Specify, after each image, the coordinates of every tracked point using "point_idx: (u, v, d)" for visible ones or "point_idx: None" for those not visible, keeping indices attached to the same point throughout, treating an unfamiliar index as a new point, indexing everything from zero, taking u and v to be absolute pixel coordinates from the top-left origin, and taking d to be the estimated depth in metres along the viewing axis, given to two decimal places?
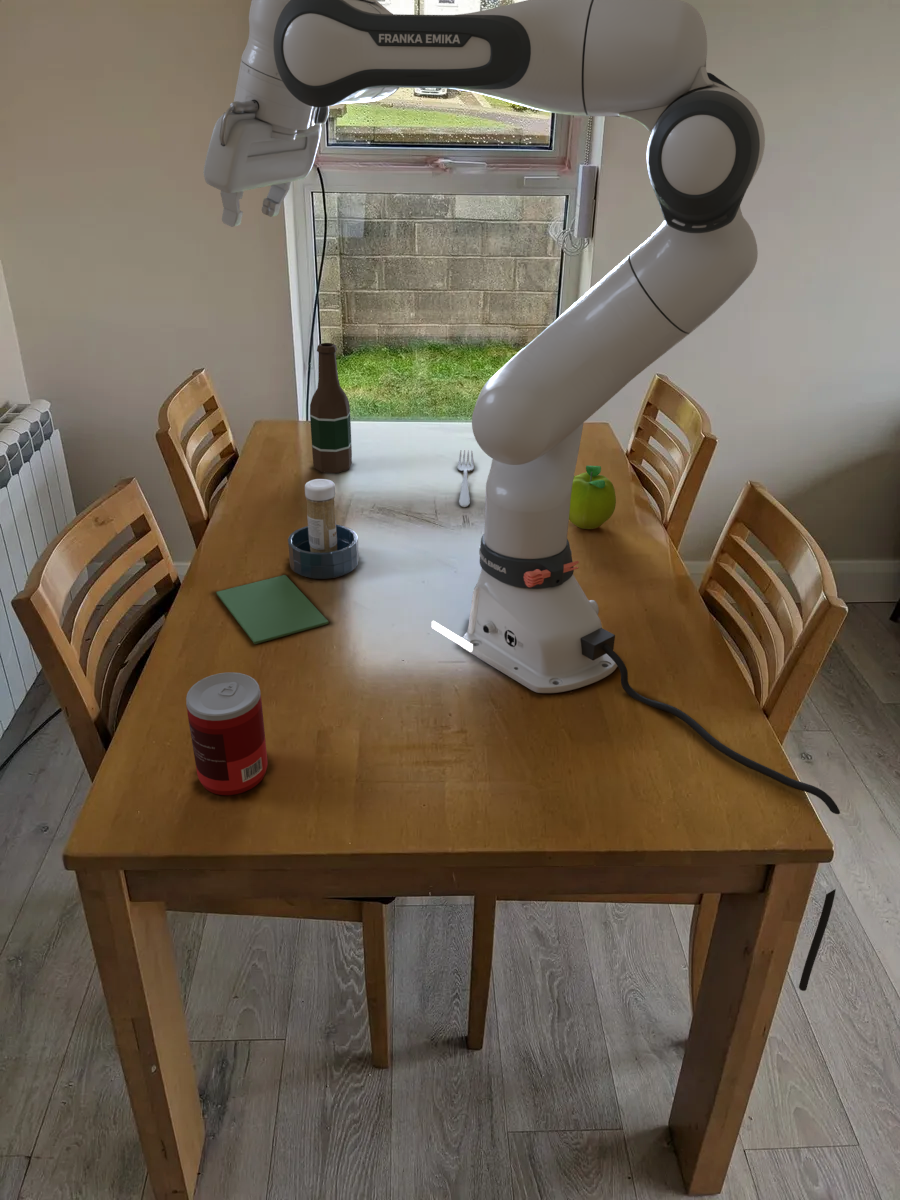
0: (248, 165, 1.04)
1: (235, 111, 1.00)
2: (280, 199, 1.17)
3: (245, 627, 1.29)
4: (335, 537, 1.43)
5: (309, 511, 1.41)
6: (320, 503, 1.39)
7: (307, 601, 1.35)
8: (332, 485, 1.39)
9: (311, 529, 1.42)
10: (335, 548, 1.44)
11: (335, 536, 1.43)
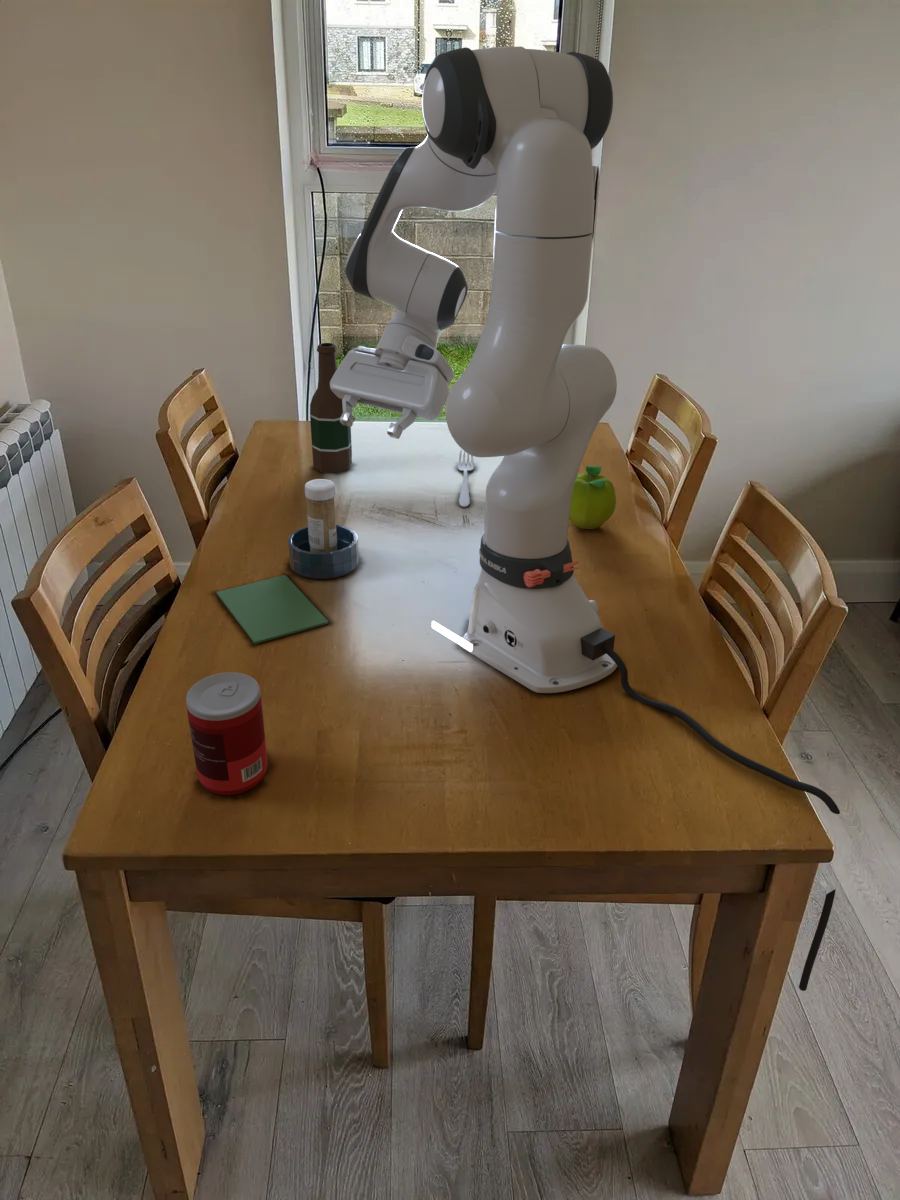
0: (350, 375, 1.49)
1: (356, 349, 1.52)
2: (397, 421, 1.44)
3: (245, 627, 1.29)
4: (335, 537, 1.43)
5: (309, 511, 1.41)
6: (320, 503, 1.39)
7: (307, 601, 1.35)
8: (332, 485, 1.39)
9: (311, 529, 1.42)
10: (335, 548, 1.44)
11: (335, 536, 1.43)
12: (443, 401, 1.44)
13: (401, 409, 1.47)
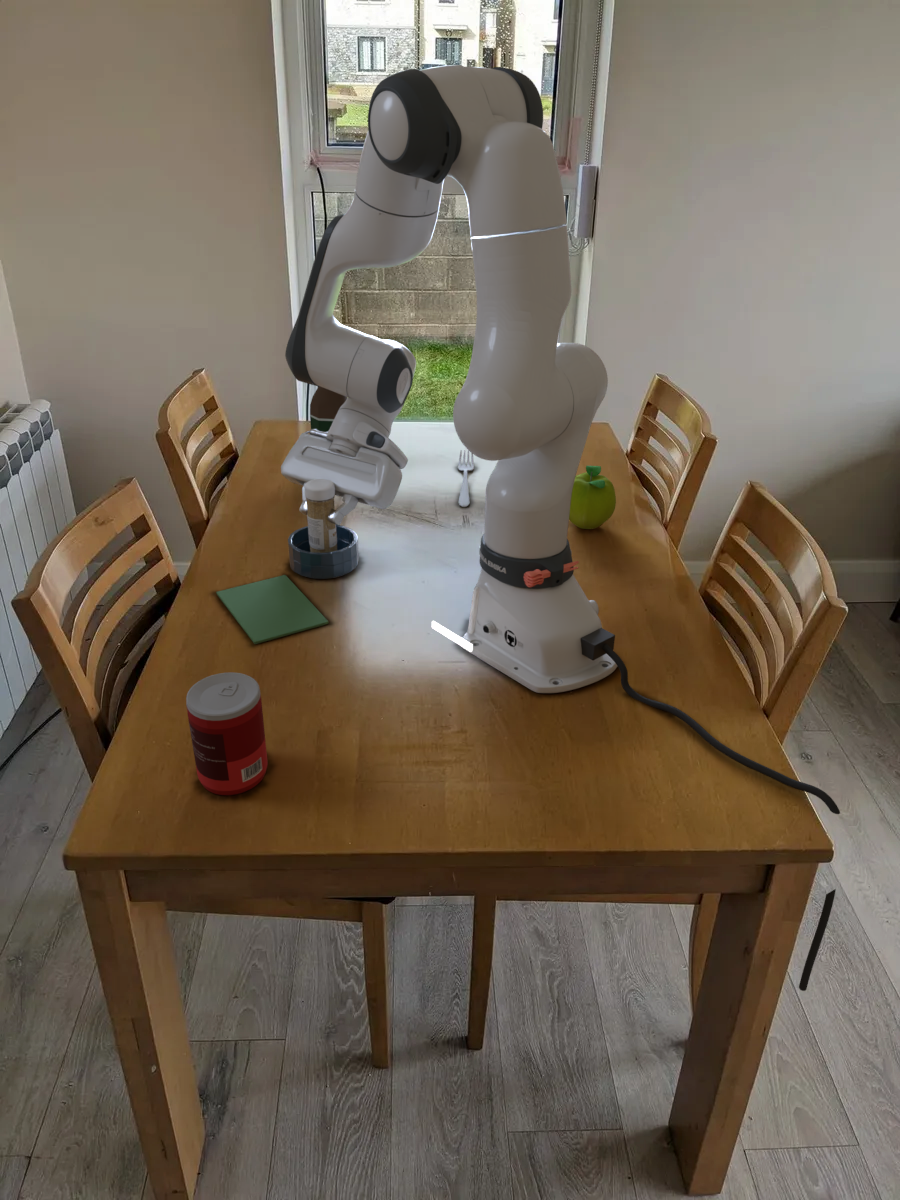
0: (301, 460, 1.45)
1: (309, 432, 1.48)
2: (338, 507, 1.40)
3: (245, 627, 1.29)
4: (335, 537, 1.43)
5: (309, 511, 1.41)
6: (320, 503, 1.39)
7: (307, 601, 1.35)
8: (332, 485, 1.39)
9: (311, 529, 1.42)
10: (335, 548, 1.44)
11: (335, 536, 1.43)
12: (395, 490, 1.40)
13: None
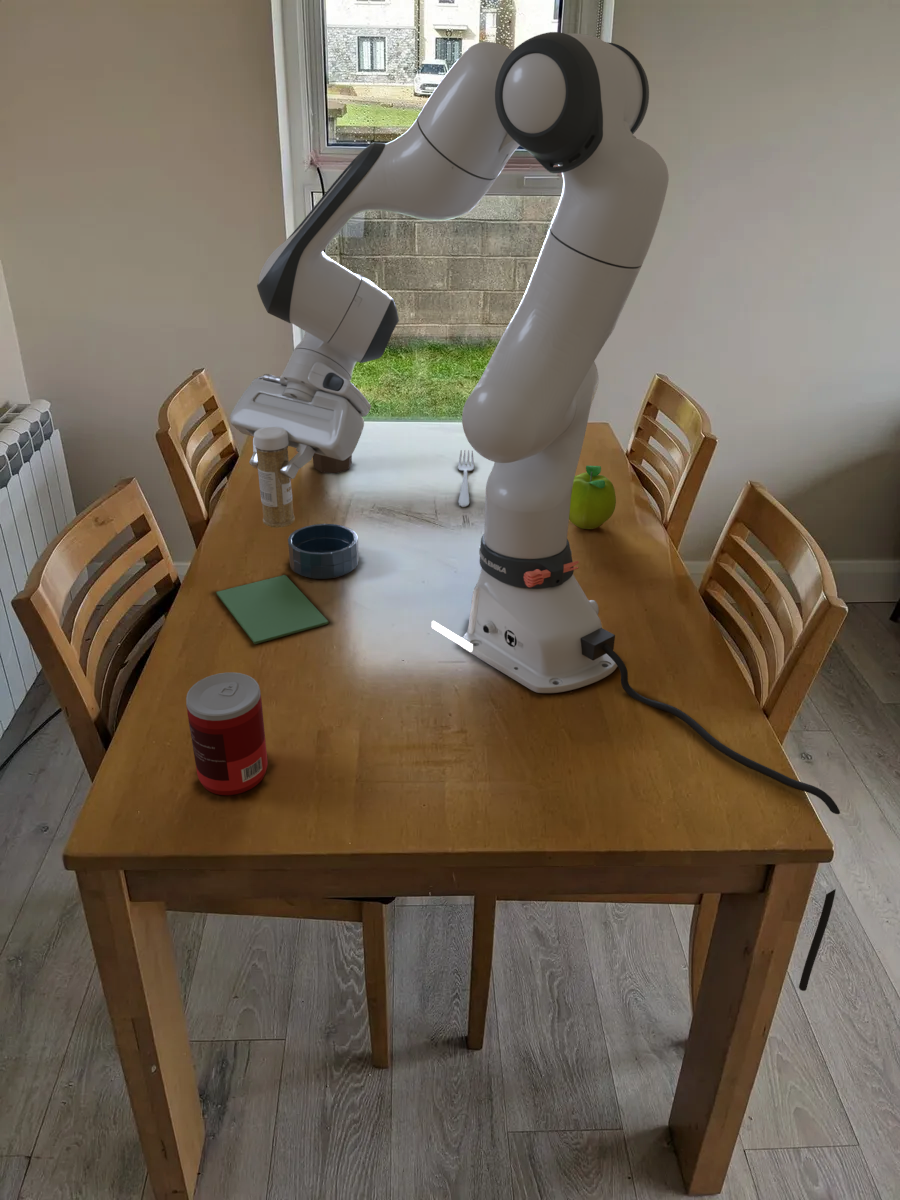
0: (252, 407, 1.29)
1: (262, 378, 1.33)
2: (292, 458, 1.25)
3: (245, 627, 1.29)
4: (289, 493, 1.28)
5: (259, 463, 1.25)
6: (271, 453, 1.24)
7: (307, 601, 1.35)
8: (284, 433, 1.24)
9: (262, 483, 1.26)
10: (290, 505, 1.29)
11: (289, 492, 1.28)
12: (356, 438, 1.24)
13: None
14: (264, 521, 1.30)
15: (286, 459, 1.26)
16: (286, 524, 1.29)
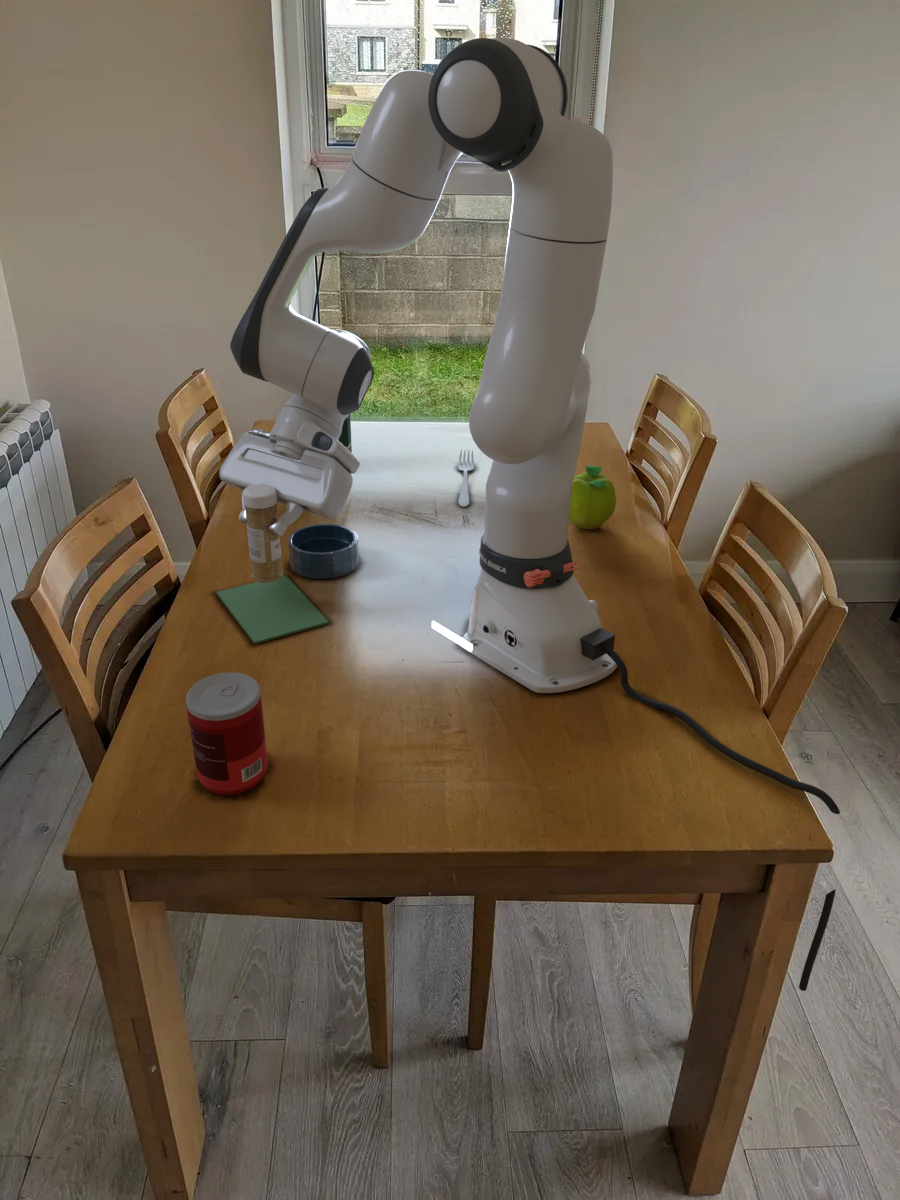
0: (241, 463, 1.30)
1: (252, 432, 1.33)
2: None
3: (245, 627, 1.29)
4: (278, 549, 1.29)
5: (248, 520, 1.26)
6: (259, 511, 1.24)
7: (307, 601, 1.35)
8: (273, 491, 1.25)
9: (251, 540, 1.27)
10: (278, 561, 1.30)
11: (278, 548, 1.29)
12: (344, 497, 1.25)
13: None
14: (253, 576, 1.30)
15: (275, 516, 1.26)
16: (275, 579, 1.30)
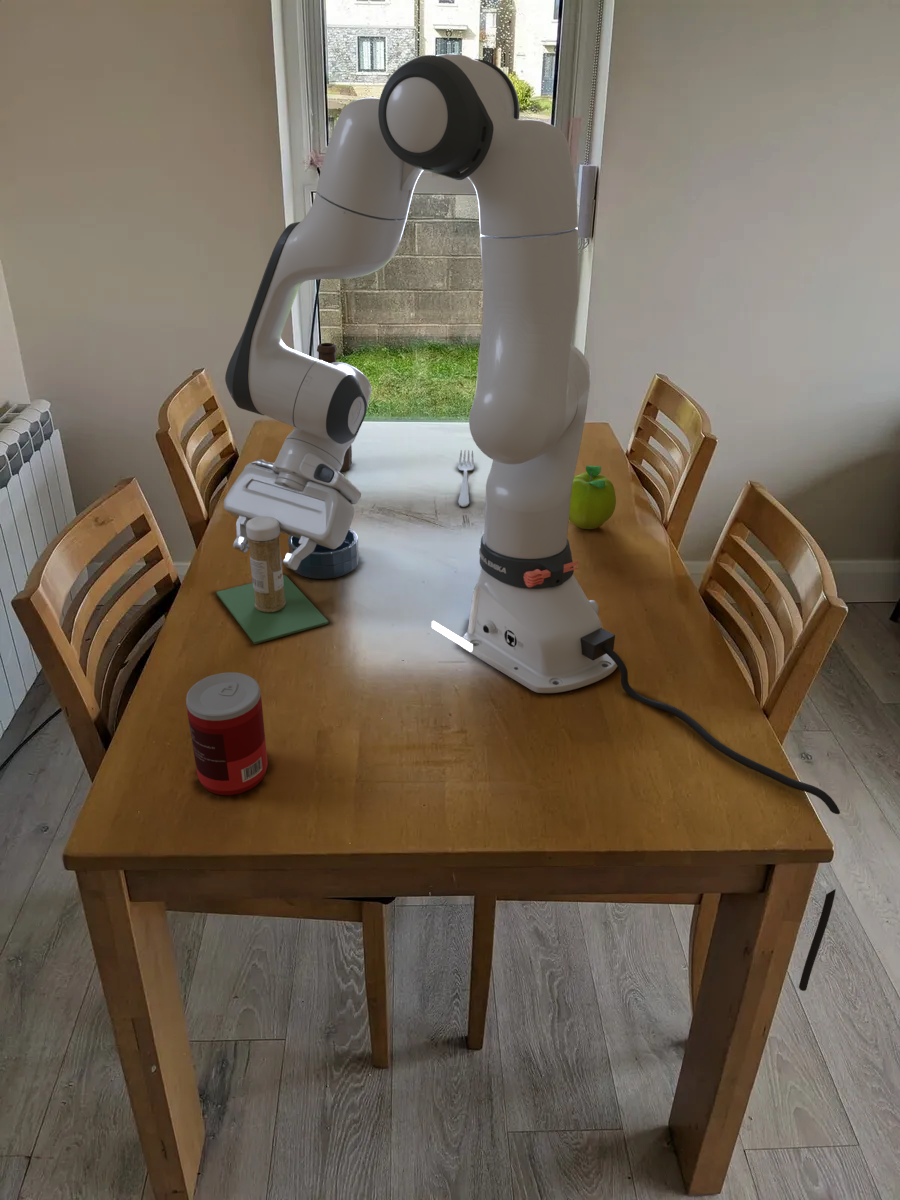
0: (245, 494, 1.32)
1: (255, 463, 1.36)
2: (294, 551, 1.27)
3: (245, 627, 1.29)
4: (280, 579, 1.31)
5: (251, 552, 1.28)
6: (262, 543, 1.27)
7: (307, 601, 1.35)
8: (276, 524, 1.27)
9: (254, 571, 1.29)
10: (281, 591, 1.32)
11: (281, 578, 1.31)
12: (346, 528, 1.27)
13: (301, 534, 1.30)
14: (256, 606, 1.33)
15: (277, 548, 1.29)
16: (277, 609, 1.32)
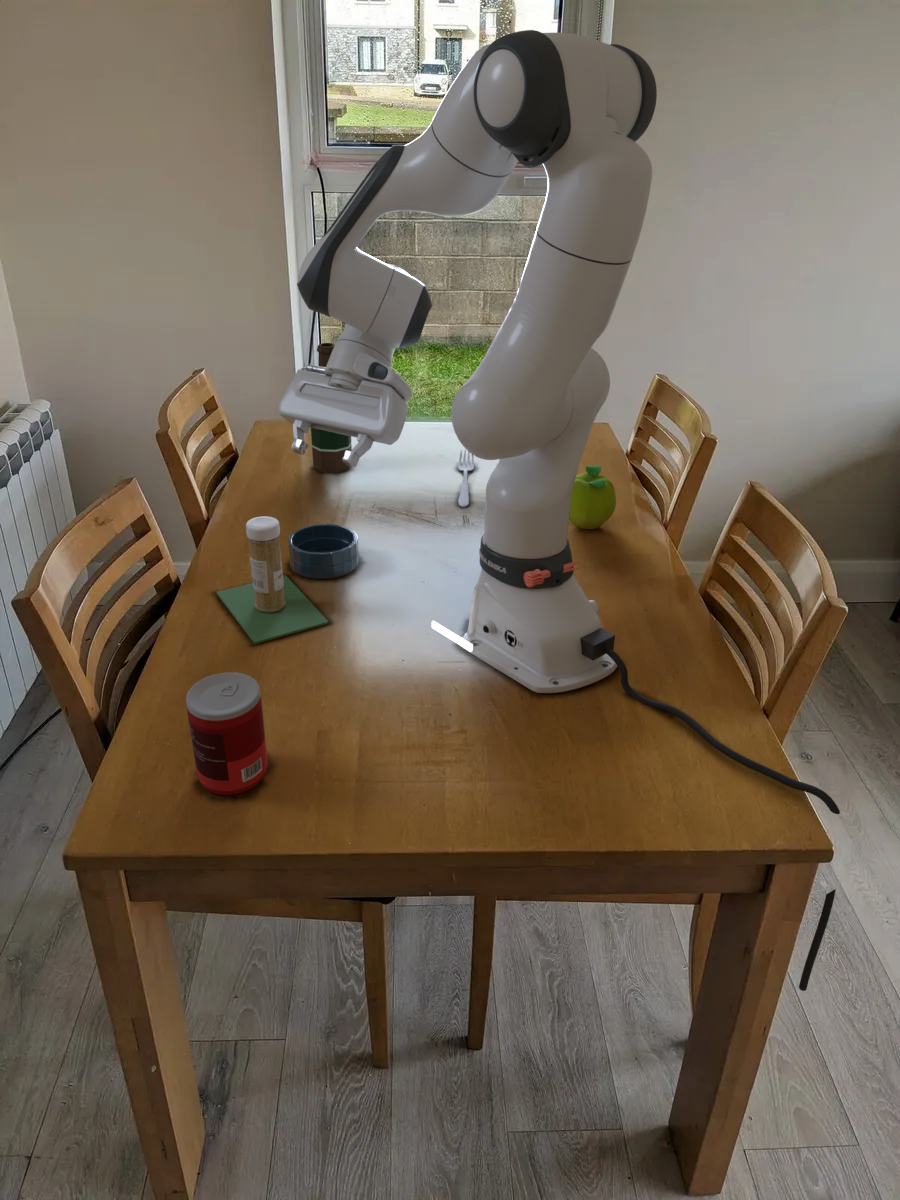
0: (300, 398, 1.37)
1: (306, 368, 1.40)
2: (353, 448, 1.32)
3: (245, 627, 1.29)
4: (280, 579, 1.31)
5: (251, 552, 1.28)
6: (262, 543, 1.27)
7: (307, 601, 1.35)
8: (276, 524, 1.27)
9: (254, 571, 1.29)
10: (281, 591, 1.32)
11: (281, 578, 1.31)
12: (401, 423, 1.32)
13: (357, 433, 1.35)
14: (256, 606, 1.33)
15: (277, 548, 1.29)
16: (277, 609, 1.32)
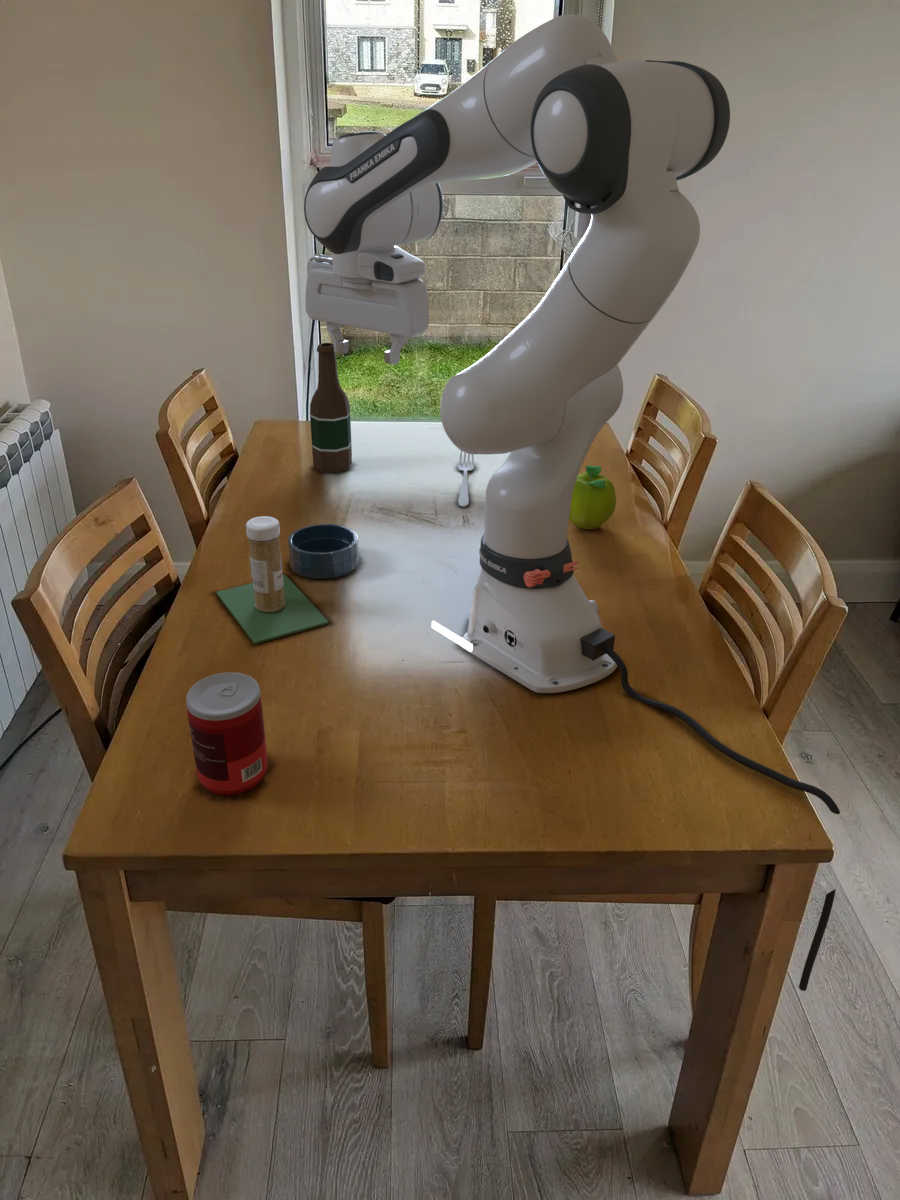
0: (321, 301, 1.35)
1: (314, 259, 1.34)
2: (390, 349, 1.33)
3: (245, 627, 1.29)
4: (280, 579, 1.31)
5: (251, 552, 1.28)
6: (262, 543, 1.27)
7: (307, 601, 1.35)
8: (276, 524, 1.27)
9: (254, 571, 1.29)
10: (281, 591, 1.32)
11: (281, 578, 1.31)
12: (426, 310, 1.29)
13: None
14: (256, 606, 1.33)
15: (277, 548, 1.29)
16: (277, 609, 1.32)
